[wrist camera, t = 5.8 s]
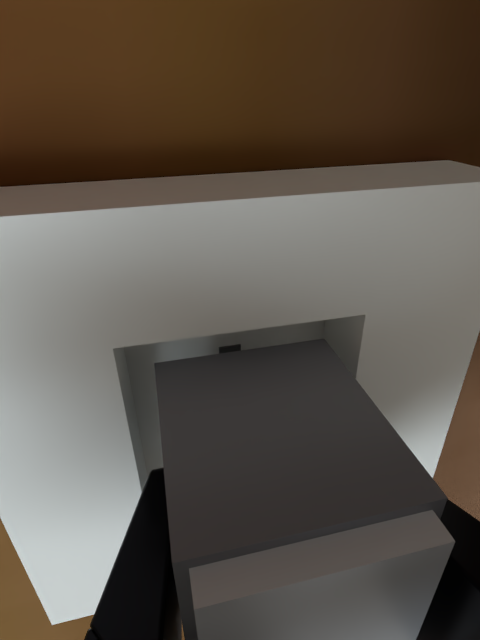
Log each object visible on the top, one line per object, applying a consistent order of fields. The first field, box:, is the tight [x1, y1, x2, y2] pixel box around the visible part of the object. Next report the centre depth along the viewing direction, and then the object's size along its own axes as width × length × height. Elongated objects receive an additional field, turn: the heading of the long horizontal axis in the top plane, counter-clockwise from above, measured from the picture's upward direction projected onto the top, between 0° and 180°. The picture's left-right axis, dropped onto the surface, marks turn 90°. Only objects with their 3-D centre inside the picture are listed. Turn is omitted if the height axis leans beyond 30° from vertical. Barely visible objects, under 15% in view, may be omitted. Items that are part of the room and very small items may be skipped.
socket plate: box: [0, 160, 480, 625], centre depth 11 cm, size 12×12×2 cm
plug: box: [154, 339, 455, 640], centre depth 9 cm, size 5×4×5 cm
